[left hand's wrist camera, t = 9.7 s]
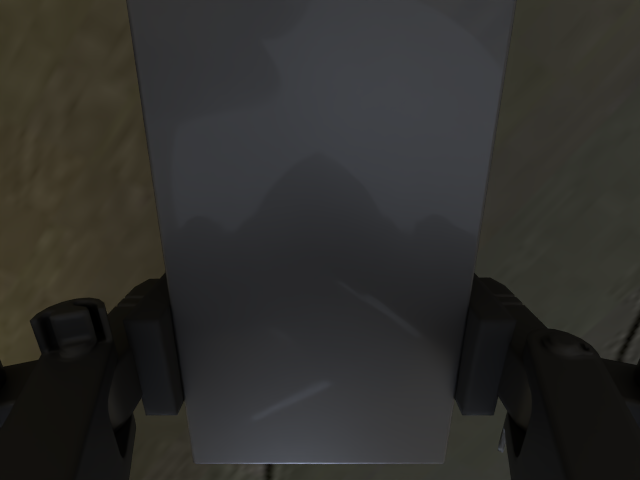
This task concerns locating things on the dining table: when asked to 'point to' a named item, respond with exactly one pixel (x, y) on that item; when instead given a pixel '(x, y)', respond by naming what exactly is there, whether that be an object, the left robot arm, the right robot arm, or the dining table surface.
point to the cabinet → (320, 215)
